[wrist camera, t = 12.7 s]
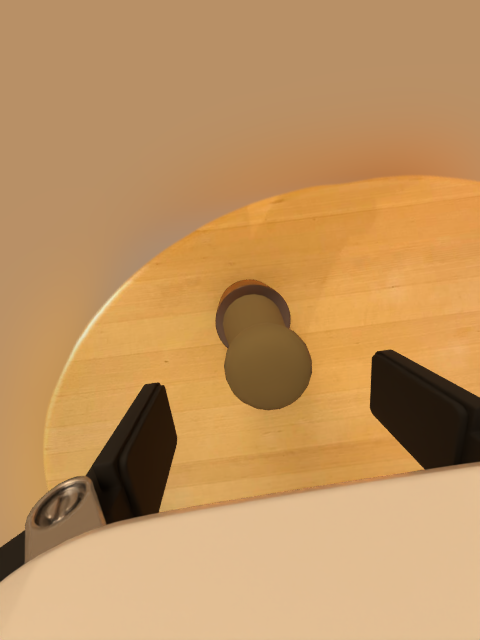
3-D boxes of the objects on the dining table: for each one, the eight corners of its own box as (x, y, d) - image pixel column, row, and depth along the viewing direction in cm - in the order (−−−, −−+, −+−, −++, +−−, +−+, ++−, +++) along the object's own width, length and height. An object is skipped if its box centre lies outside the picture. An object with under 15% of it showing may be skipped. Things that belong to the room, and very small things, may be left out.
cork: (214, 341, 23) (200, 411, 12) (234, 285, 21) (238, 309, 11) (269, 359, 23) (300, 440, 13) (291, 306, 22) (348, 347, 12)
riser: (209, 324, 28) (204, 341, 23) (233, 269, 27) (233, 271, 21) (262, 346, 30) (270, 367, 24) (288, 294, 28) (303, 303, 22)
